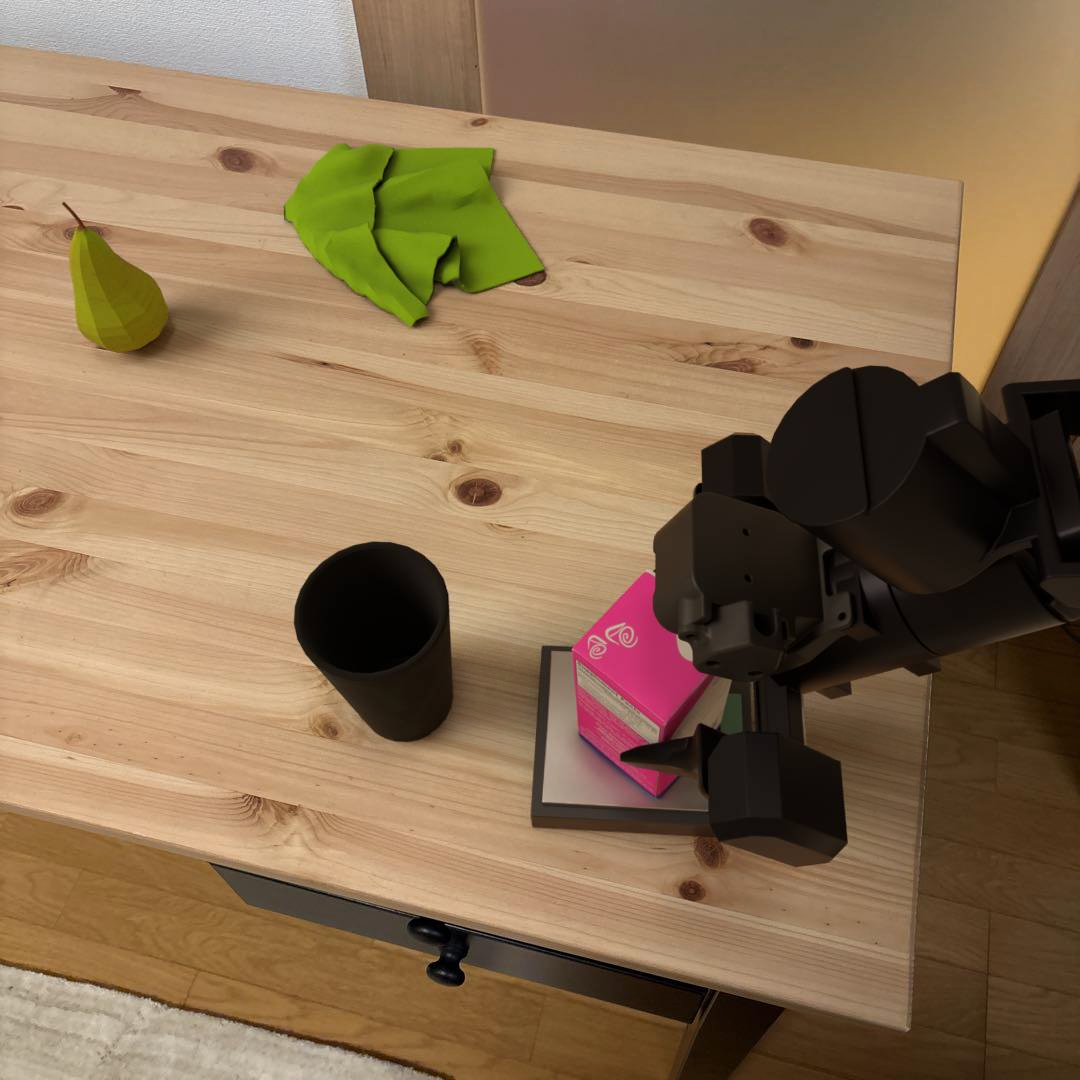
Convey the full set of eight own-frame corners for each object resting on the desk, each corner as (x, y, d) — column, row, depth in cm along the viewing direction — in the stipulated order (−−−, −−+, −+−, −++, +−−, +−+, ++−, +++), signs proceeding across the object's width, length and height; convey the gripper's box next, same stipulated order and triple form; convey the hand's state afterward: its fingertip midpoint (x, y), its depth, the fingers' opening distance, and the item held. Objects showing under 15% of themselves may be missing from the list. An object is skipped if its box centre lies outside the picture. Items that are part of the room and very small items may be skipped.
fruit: (142, 380, 73) (71, 256, 62) (76, 352, 74) (-4, 226, 64) (196, 320, 75) (136, 192, 65) (131, 294, 77) (62, 165, 67)
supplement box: (639, 659, 57) (650, 562, 47) (723, 725, 55) (753, 637, 45) (572, 732, 55) (569, 646, 45) (656, 803, 53) (672, 730, 43)
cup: (495, 675, 60) (478, 582, 50) (424, 783, 57) (390, 708, 47) (390, 617, 62) (353, 517, 52) (316, 719, 59) (261, 633, 49)
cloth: (314, 135, 86) (308, 111, 84) (568, 155, 83) (567, 130, 81) (243, 313, 76) (234, 290, 73) (530, 340, 73) (528, 317, 71)
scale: (743, 670, 60) (750, 649, 57) (750, 839, 55) (759, 825, 52) (542, 661, 61) (541, 640, 58) (532, 827, 56) (529, 813, 53)
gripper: (784, 301, 39) (519, 455, 50) (821, 765, 30) (485, 836, 40) (929, 428, 46) (668, 541, 56) (997, 843, 36) (668, 888, 46)
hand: (627, 680), depth 49 cm, fingers closed on supplement box, 8 cm apart
